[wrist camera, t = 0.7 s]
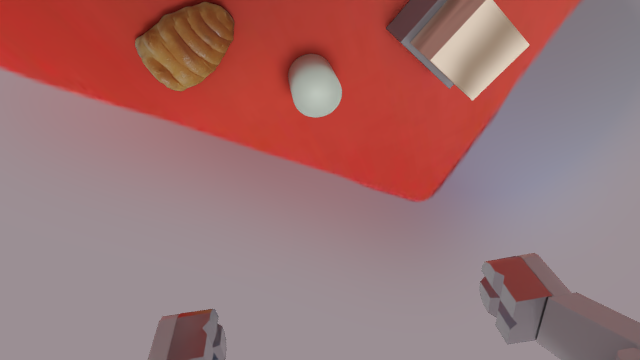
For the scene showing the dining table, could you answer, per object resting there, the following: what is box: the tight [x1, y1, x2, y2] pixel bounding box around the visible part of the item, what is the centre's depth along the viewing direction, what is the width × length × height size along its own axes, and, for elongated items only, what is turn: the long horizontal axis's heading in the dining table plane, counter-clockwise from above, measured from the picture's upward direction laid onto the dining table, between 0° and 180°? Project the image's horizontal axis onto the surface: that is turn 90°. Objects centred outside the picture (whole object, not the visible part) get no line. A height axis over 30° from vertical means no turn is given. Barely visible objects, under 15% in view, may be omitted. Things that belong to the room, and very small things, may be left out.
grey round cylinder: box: [288, 54, 342, 117], centre depth 41 cm, size 5×5×5 cm
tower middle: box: [410, 0, 529, 100], centre depth 36 cm, size 6×6×5 cm
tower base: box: [386, 0, 454, 89], centre depth 40 cm, size 8×8×5 cm
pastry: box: [135, 2, 234, 91], centre depth 37 cm, size 9×7×4 cm
